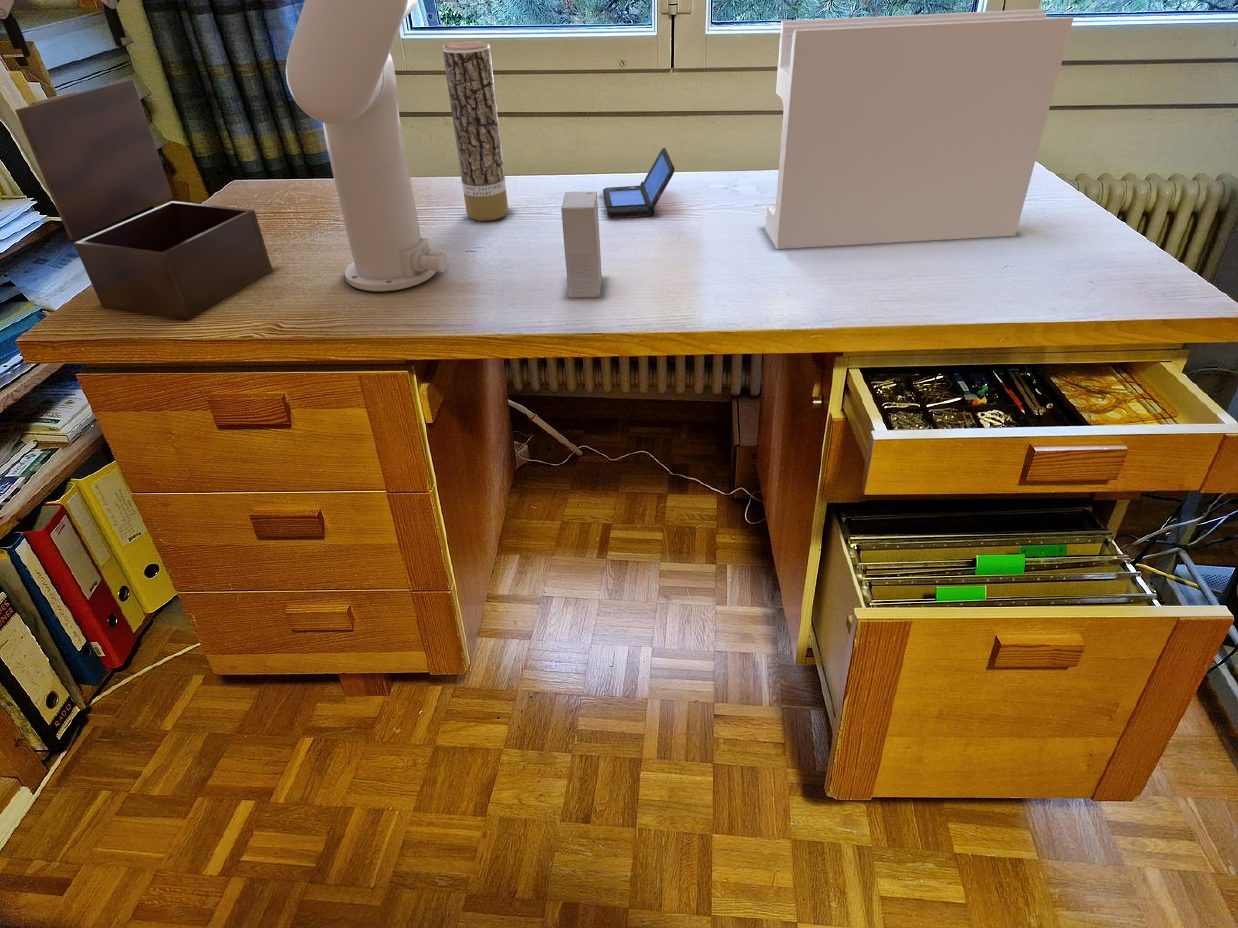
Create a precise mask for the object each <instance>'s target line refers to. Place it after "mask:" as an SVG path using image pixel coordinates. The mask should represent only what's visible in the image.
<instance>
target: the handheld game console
mask: <svg viewBox="0 0 1238 928" xmlns="http://www.w3.org/2000/svg"><path fill="white" fill-rule="evenodd" d="M675 169H676V168H675V166H674V164H673V161H672V159H671V156H670V155H669V153H668V150H667V149H666V147H662V148H661V150H660V151H659V153H658V155H657V156H656V158H655V160H654V162H653V163H652V165H651V167H650V169H649V171H648V172H647V174H646V176H645V178H644V180H643V181H641V182H640V184H639V185H628V186H627V185H626V186H612V187H611V186H610V187H609V186H608V187H604V188H603V189H602V195H603V200H604V205H605V210H606V213H607V216H608V217H609V218H613V219H617V218H633V217H648V216H650V217H653V216H654V215H655V207H656V205H657V203H658V202H659V200H660V198H661V196H662V195H663V193H664V191H665V189H666V188H667V186H668V184H669V183H670V181H671V179H672V177H673V176H674V173H675Z"/></svg>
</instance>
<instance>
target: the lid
mask: <svg viewBox="0 0 1238 928" xmlns="http://www.w3.org/2000/svg"><path fill="white" fill-rule="evenodd" d="M141 101H142V100H141V98H140V95H139V92H138V89H137V85H136V83H135V80H134V79H130V78H129V79H125V80H120V81H117V82H114V83H109V84H106V85H102V86H98V87H95V88H91V89H88V90H87V89H86V90H84V91H80V92H77V91H71V92H67V93H63V94H60V95H59V94H58V95H56V96H52V97H48V98H45V99H40V100H36V101H33V102H31V103H30V105H27V106H24V107H20V108H15V110H14V111H15V114H16V116H17V118H18V121H19V123H20V126H21V127H22V130H23V134H24V136H25V137H26V140H27V142H28V144H29V147H30V149H31V151H32V154H33V157H34V158H35V161H36V163H37V165H38V168H39V170H40V172H41V175H42V177H43V180H44V182H45V184H46V187H47V189H48V192H49V194H50V196H51V199H52V201H53V204H54V206H55V208H56V210H57V212H58V215H59V217H60V220H61V222H62V225H63V227H64V230H65V231H66V235H67V237H68V239H69V240H77V239H80V238H81V237H83V236H86V235H88V234H91V233H93V232H95V231H98V230H100V229H103V228H105V227H108V226H109V225H112V224H114V223H117V222H119V221H121V220H124V219H127V218H128V217H129V218H130V217H131V216H133V215H135V214H138V213H141V212H143V211H145V210H147V209H149V208H153V207H155V206H156V205H159V204H161V203H165V202H166V201H168V200H171V199H173V194H172V190H171V188H170V185H169V182H168V179H167V176H166V173H165V170H164V167H163V164H162V161H161V158H160V155H159V152H158V149H157V146H156V143H155V139H154V137H153V134H152V131H151V128H150V125H149V122H148V119H147V116H146V113H145V111H144V107H143V104H142V102H141Z"/></svg>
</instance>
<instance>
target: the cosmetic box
mask: <svg viewBox="0 0 1238 928" xmlns="http://www.w3.org/2000/svg"><path fill="white" fill-rule="evenodd" d="M561 204H562V205H561V221H562V222H561V223H562V234H563V236H562V237H563V247H564V258H565V272H566V282H567V295H568V298H571V299H572V298H573V299H575V298H599V297H600V296H601V289H602V278H603V274H602V257H601V240H600V239H601V238H600V223H599V220H600V219H599V203H598V192H597V191H596V190H595V191H565V192H564V195H563V199H562V203H561Z"/></svg>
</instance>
